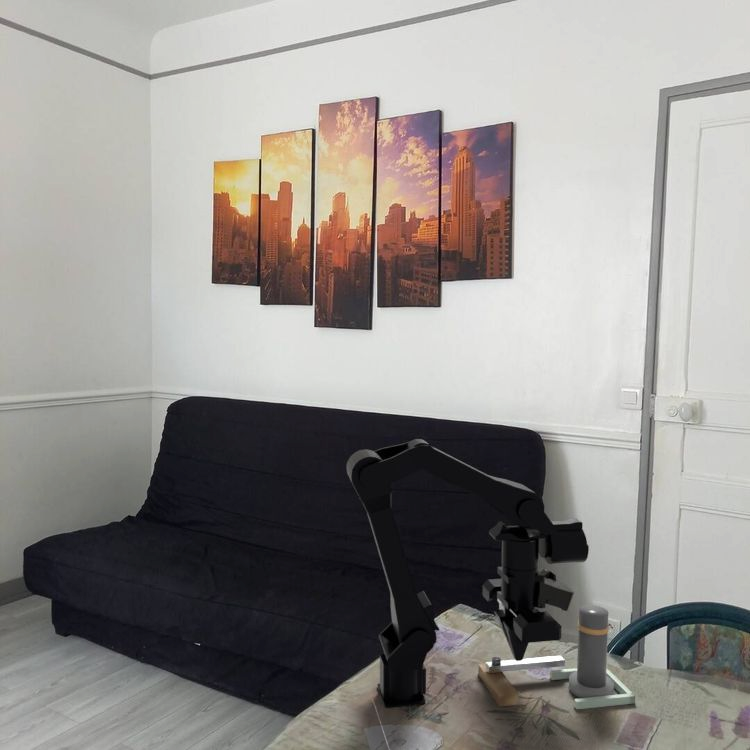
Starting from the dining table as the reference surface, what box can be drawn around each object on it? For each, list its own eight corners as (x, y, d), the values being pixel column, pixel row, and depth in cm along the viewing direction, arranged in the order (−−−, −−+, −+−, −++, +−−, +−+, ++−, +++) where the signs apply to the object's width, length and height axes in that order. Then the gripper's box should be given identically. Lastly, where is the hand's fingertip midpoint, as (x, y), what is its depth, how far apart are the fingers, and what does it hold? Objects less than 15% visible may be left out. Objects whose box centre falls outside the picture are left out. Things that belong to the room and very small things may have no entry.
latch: (489, 672, 113) (489, 662, 113) (485, 668, 114) (485, 657, 114) (564, 665, 115) (565, 655, 115) (560, 661, 117) (560, 650, 117)
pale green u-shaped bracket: (576, 709, 106) (576, 701, 106) (549, 677, 116) (549, 670, 115) (634, 703, 108) (635, 695, 108) (603, 672, 117) (604, 665, 117)
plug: (581, 703, 108) (583, 621, 107) (561, 681, 114) (563, 603, 113) (621, 699, 109) (624, 618, 108) (600, 677, 116) (602, 600, 115)
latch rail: (499, 706, 107) (499, 695, 107) (478, 674, 117) (478, 664, 117) (518, 704, 107) (518, 694, 107) (495, 672, 117) (495, 662, 117)
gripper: (595, 583, 104) (593, 684, 105) (543, 543, 122) (541, 630, 123) (524, 588, 102) (522, 691, 103) (482, 547, 120) (480, 635, 121)
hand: (518, 659), depth 113 cm, fingers closed
